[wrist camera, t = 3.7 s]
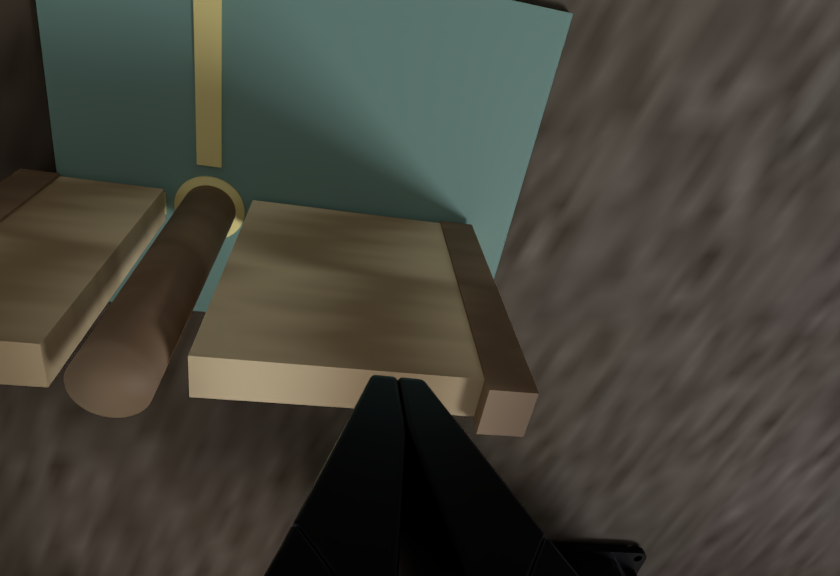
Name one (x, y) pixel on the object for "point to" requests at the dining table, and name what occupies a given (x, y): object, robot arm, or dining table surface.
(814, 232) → the dining table surface
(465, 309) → the fence panel
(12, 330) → the fence post and fixed rail
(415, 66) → the card
